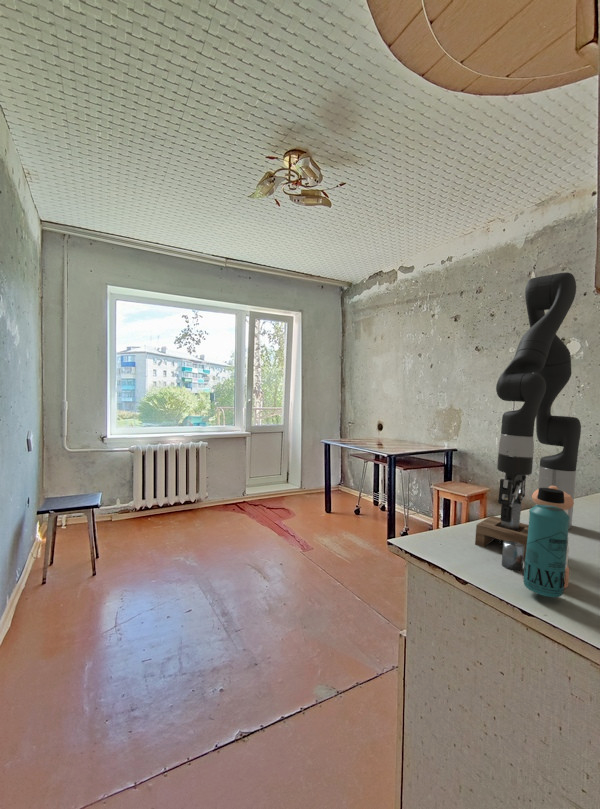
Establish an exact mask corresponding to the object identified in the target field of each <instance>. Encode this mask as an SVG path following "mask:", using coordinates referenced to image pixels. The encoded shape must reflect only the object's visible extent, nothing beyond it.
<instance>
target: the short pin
mask: <svg viewBox="0 0 600 809" xmlns="http://www.w3.org/2000/svg"><path fill="white" fill-rule="evenodd" d="M501 554H502V555H501V557H502V558H501V566H502V567H503V568H505V569H506V570H510V571H512V570H513V572H522V571H524V560H525V559H524V545H522V544H520V543H518V542H514V541H504V542H503V547H502V553H501Z"/></svg>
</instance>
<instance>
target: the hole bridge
mask: <svg viewBox="0 0 600 809" xmlns="http://www.w3.org/2000/svg"><path fill="white" fill-rule="evenodd" d="M500 518H501V517H498V516H494V515H490V516H489V517H486V518H485V519H483V520H482V521H480V522H479V523H476V528H475V541H474V545H475V546H479V547H482V548H484V547H486V546H488V544H490V543H492V541H494V540H496V539H497V540H499V541H500V540H504V541H514V542H518V543H520V544H522V545H524V557H525V554H526V546H527V538H528V526H529V524H528V523H523V522H520V525H519V532H517V531H513V530H509V529H505V528H501V519H500ZM523 560H525V558H524V559H523Z"/></svg>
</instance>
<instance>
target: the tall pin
mask: <svg viewBox="0 0 600 809" xmlns="http://www.w3.org/2000/svg"><path fill="white" fill-rule="evenodd" d="M520 511H522V503H521V504H520V503H518V502H513V506H512V518H511V522H509V523H508V522H504V521H501V528H505V529H509V530H513V531H517V532H519V525H520V523H521V521H520V520H521V514H520ZM503 542H504V540H500V539H499V546H500V547H502V548H503Z"/></svg>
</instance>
